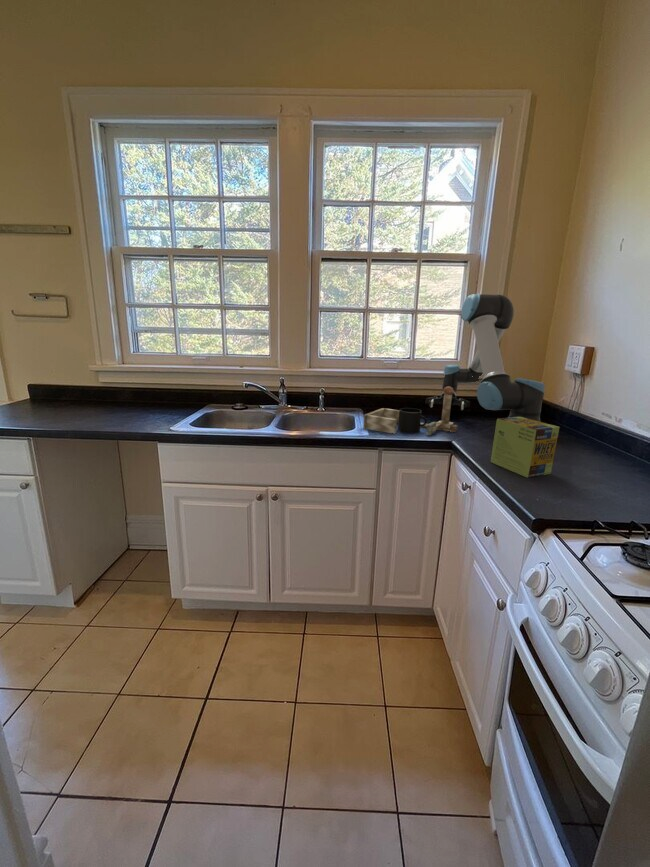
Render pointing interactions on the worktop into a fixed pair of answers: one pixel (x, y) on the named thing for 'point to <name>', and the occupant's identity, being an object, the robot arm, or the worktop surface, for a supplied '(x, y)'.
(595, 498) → the worktop surface
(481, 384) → the robot arm
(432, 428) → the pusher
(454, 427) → the rail
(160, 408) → the worktop surface
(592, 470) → the worktop surface
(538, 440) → the protein box
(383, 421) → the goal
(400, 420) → the mug
